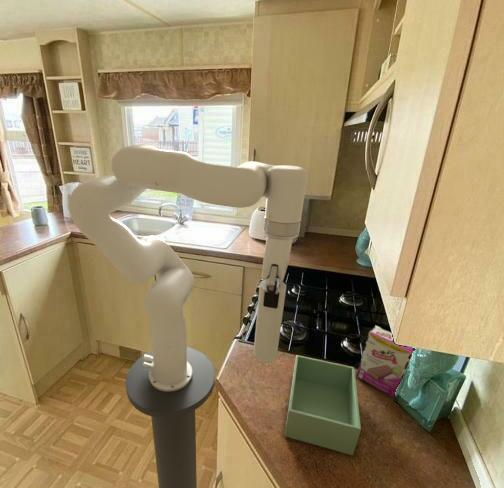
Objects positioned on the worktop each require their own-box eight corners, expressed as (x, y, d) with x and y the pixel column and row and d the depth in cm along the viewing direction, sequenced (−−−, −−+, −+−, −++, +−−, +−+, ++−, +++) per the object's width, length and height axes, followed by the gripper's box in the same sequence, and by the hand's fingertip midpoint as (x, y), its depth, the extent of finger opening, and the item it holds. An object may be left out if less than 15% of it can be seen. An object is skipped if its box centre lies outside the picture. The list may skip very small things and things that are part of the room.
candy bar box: (355, 377, 91) (367, 331, 84) (362, 369, 94) (375, 324, 87) (395, 400, 84) (412, 352, 77) (402, 390, 87) (419, 343, 80)
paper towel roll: (268, 368, 77) (277, 294, 68) (248, 356, 81) (254, 284, 71) (283, 352, 82) (294, 282, 72) (264, 342, 85) (271, 273, 76)
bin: (284, 436, 74) (288, 410, 70) (292, 377, 90) (296, 354, 87) (352, 455, 70) (361, 429, 66) (348, 390, 87) (354, 367, 83)
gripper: (270, 214, 75) (264, 278, 82) (256, 237, 60) (249, 314, 67) (302, 217, 73) (292, 283, 80) (296, 243, 58) (284, 320, 65)
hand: (273, 296), depth 74 cm, fingers closed on paper towel roll, 8 cm apart
